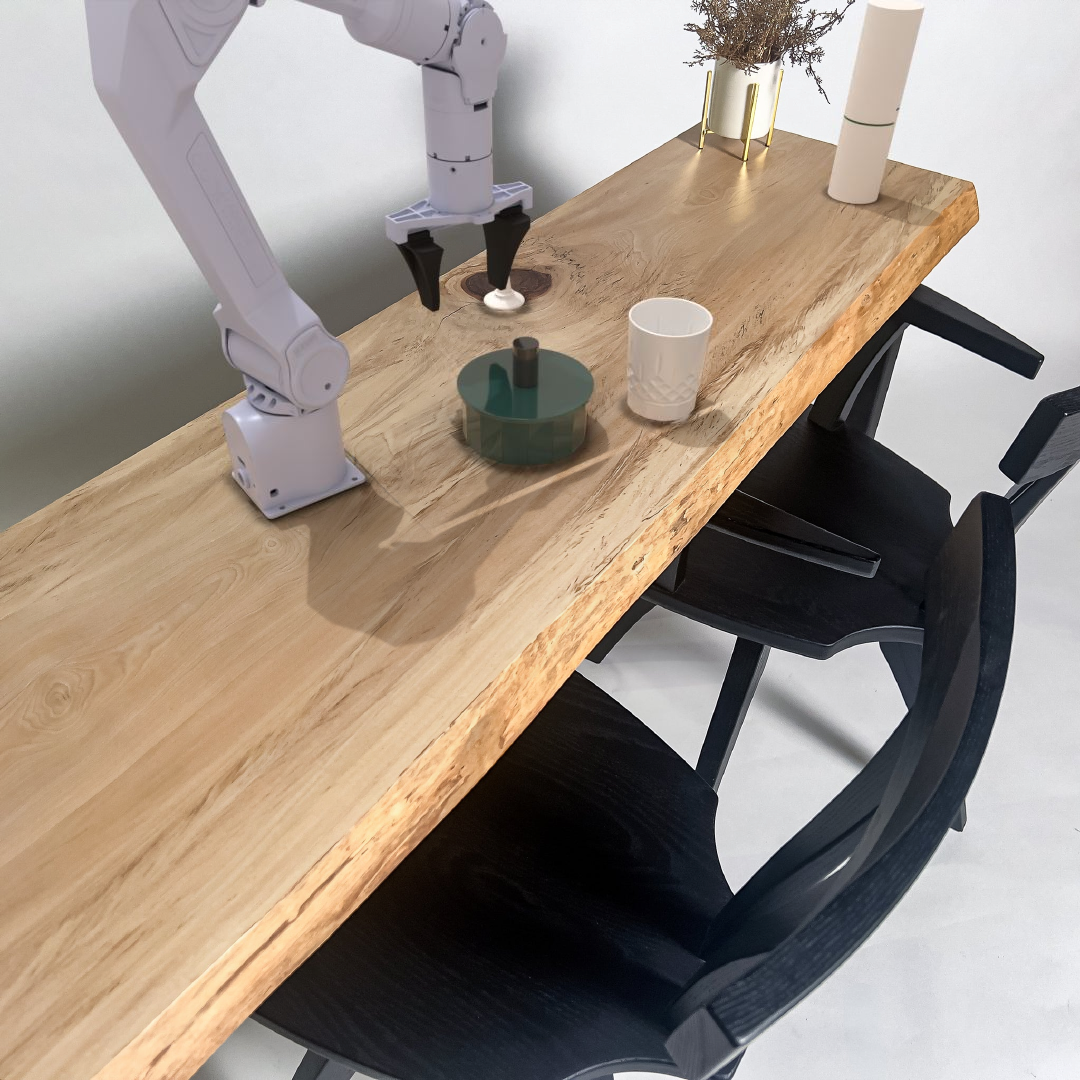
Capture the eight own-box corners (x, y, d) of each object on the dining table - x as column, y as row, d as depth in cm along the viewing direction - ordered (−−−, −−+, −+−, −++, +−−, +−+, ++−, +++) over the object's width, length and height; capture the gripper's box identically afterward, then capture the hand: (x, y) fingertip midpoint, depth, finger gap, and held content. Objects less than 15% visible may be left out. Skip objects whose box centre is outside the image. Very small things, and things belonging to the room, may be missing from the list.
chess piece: (531, 310, 112) (532, 227, 106) (491, 317, 111) (490, 233, 104) (516, 292, 116) (516, 210, 109) (477, 298, 114) (475, 216, 108)
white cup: (642, 378, 101) (651, 289, 95) (712, 400, 98) (726, 310, 92) (607, 413, 96) (614, 322, 90) (679, 437, 93) (692, 344, 87)
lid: (509, 446, 83) (509, 395, 80) (430, 383, 91) (427, 334, 88) (621, 400, 89) (625, 351, 86) (538, 344, 97) (539, 297, 93)
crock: (510, 485, 87) (510, 435, 83) (441, 426, 94) (438, 378, 90) (609, 442, 92) (613, 393, 89) (536, 389, 99) (537, 342, 96)
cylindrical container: (883, 192, 143) (931, 2, 127) (868, 207, 138) (916, 12, 122) (836, 182, 146) (877, -5, 129) (820, 196, 141) (860, 4, 125)
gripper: (411, 182, 78) (421, 334, 86) (554, 147, 84) (550, 292, 93) (367, 156, 82) (381, 304, 91) (507, 126, 89) (507, 266, 97)
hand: (464, 296), depth 92 cm, fingers open, 7 cm apart
